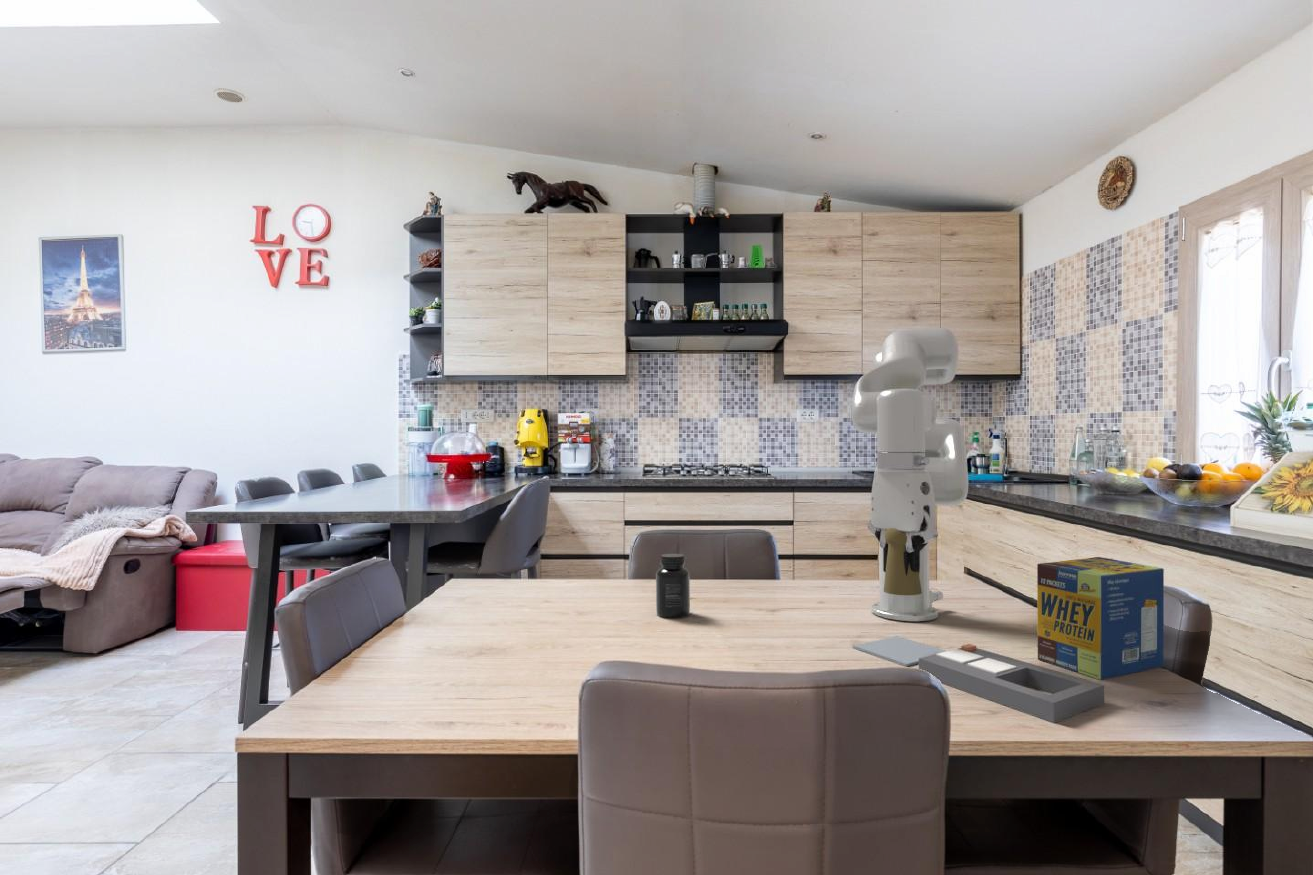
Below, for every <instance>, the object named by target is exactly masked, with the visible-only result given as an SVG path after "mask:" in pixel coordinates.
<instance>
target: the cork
mask: <svg viewBox="0 0 1313 875" xmlns="http://www.w3.org/2000/svg"><path fill="white" fill-rule="evenodd" d="M916 538H917V536H913V540H915V539H916ZM885 541H886V542H887V544H888V554H887V563H886V572H885V582H884V592H885V593H888V594H894V595H919V594H922V590H921V584H920V578H919V573H918V572H913V571H912V570H911V569H910V564H909V567H908V572H907V576H906V572H905V566H904V552H908V551H907V550H906V541H907V536H906V533H904V532H902V531H899V530H897V529H895V528H888V529H886V530H885Z"/></svg>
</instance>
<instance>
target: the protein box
mask: <svg viewBox="0 0 1313 875" xmlns="http://www.w3.org/2000/svg"><path fill="white" fill-rule="evenodd" d="M1036 566H1037V567H1036V569H1037V570H1036V572H1037V573H1036V574H1037V576H1036V579H1037V582H1036V584H1037V585H1036V588H1037V591H1036V592H1037V595H1036V596H1037V597H1036V598H1037V599H1036V600H1037V604H1036V605H1037V606H1036V607H1037V608H1036V609H1037V611H1036V612H1037V613H1036V614H1037V616H1036V617H1037V620H1036V622H1037V625H1036V626H1037V627H1036V628H1037V660H1039V661H1042V662H1045V663H1048V662H1049V663H1048V664H1051V663H1052V664H1051V665H1054V664H1055V666H1057V667H1060V668H1064V669H1067V670H1070V671H1073V672H1075V673H1078V674H1082V675H1085V676H1088V677H1091V678H1093V679H1096V680H1101V681H1102V680H1105V679H1110V678H1112V679H1113V678H1116V677H1121V676H1125V675H1130V674H1134V673H1139V672H1140V673H1141V672H1144V671H1149V670H1153V669H1158V668H1162V667H1164V633H1165V632H1164V624H1165V622H1164V618H1165V617H1164V615H1165V614H1164V611H1165V610H1164V601H1165V600H1164V598H1165V596H1164V593H1165V592H1164V587H1165V586H1164V584H1165V583H1164V582H1165V580H1164V578H1165V577H1164V575H1165V569H1164V568H1162V567H1157V566H1152V565H1148V564H1147V565H1146V564H1141V563H1134V562H1129V561H1124V560H1117V559H1112V558H1107V557H1101V556H1095V557H1087V558H1079V559H1070V560H1060V561H1052V562H1044V563H1043V562H1041V563H1037V565H1036Z"/></svg>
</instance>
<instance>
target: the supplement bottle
mask: <svg viewBox="0 0 1313 875" xmlns="http://www.w3.org/2000/svg"><path fill="white" fill-rule="evenodd" d="M659 563H660V566H661V567H660V568H658V569H657V571H656V572H655V592H656V593H655V594H656V595H655V596H656V597H655V598H656V599H655V600H656V601H655V603H656V604H655V606H656V609H655V610H656V614H657V615H658V616H659V617H661V618H665V619H680V618H685V617H687V616H689V615H690V613H691V597H690V596H691V592H690V591H691V588H690V585H691V584H690V582H691V581H690V571H689V570H688V569H687V568H686V567H684V566H685V564H686V562H685V554H680V553H666V554H665V553H664V554H661V555H660V562H659Z"/></svg>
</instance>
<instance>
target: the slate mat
mask: <svg viewBox="0 0 1313 875" xmlns="http://www.w3.org/2000/svg"><path fill="white" fill-rule="evenodd" d="M852 648H853V649H854V650H857V651H860V652H863V653H866V654H869V655H872V656H875V657H878V658H881V659H883V660H887V661H889V662H893V663H895V664H898V663H899V664H898V665H901V666H903V667H906V666H907V667H910V666H914V665H917V664H918V665H919V658H922V657H926V656H930V655H934V654H938V653H942V652H946V651H947V650H945V649H942V648H939V647H936V646H931V645H928V644H925V643H921V642H919V641H917V640H916V641H915V640H912V639H909V638H905V637H903V636H899V635H895V636H891V637H886V638H881V639H878V640H877V639H876V640H872V641H868V642H863V643H858V644H854V645H852Z"/></svg>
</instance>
